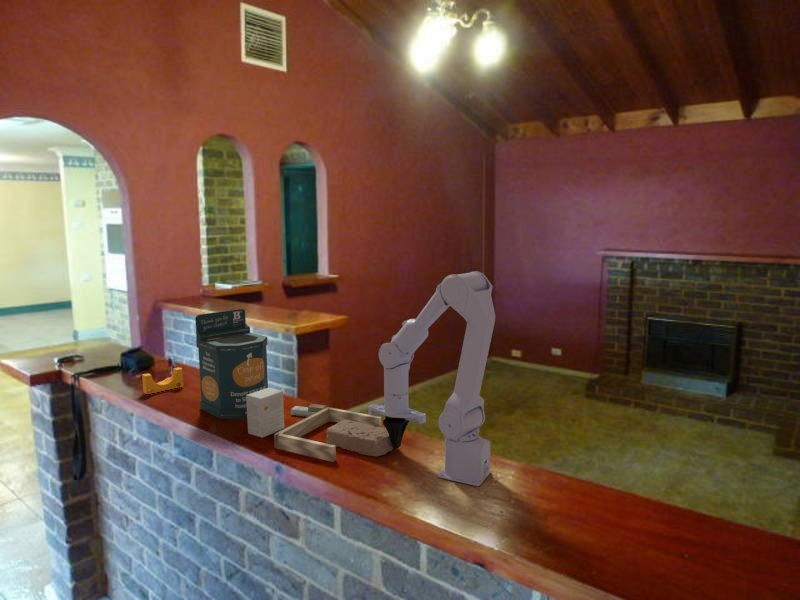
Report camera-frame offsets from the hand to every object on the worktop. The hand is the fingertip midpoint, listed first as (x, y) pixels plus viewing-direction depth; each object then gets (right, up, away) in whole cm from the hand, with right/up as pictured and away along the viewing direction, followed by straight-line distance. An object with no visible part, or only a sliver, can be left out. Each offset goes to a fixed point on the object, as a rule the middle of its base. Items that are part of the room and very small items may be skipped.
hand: (396, 447), depth 136 cm
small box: (-34, 0, +14) cm, 37 cm away
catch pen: (-16, 0, +9) cm, 19 cm away
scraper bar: (-25, +2, +26) cm, 36 cm away
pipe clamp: (-77, +5, +51) cm, 92 cm away
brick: (-9, -1, +4) cm, 10 cm away
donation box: (-46, +3, +32) cm, 56 cm away
